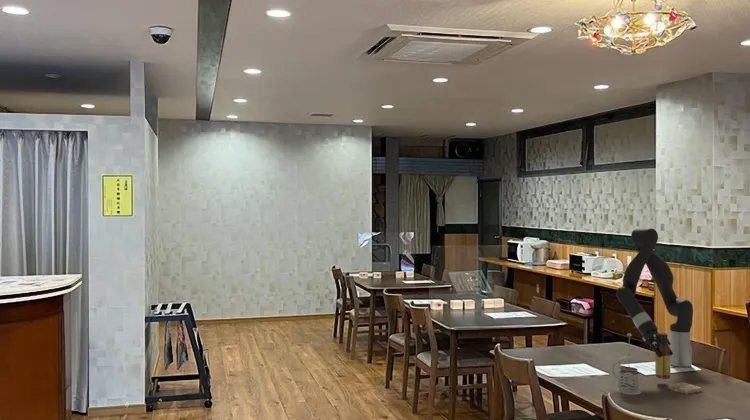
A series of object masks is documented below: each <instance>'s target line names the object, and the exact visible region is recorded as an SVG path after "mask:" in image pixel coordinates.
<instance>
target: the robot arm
mask: <svg viewBox="0 0 750 420" xmlns="http://www.w3.org/2000/svg"><path fill="white" fill-rule="evenodd" d="M630 237H631V242H632V243H633V245H634V247H635V249H636V250H637V252H638V253H637V254H636V255H635V257H634V258H632V260H630V262H629V263H628V265H627V266H626V269H625V271H624V275H623V277H622V286H619V288H617V290H616V292H615V293H616V294H615V295H616V298H617V299H618V302H619V303H620V304H622V306H623V307H624V309H625V310H626V312H627V314H628V316H629V317H630V319H631V320H632V322H633V324H634V326H635V327H636V329H637V330H638V331H639V333H640V334H641V336H642V337H641V341H642V342H643V343H644V345H645V346H646V347H647V349H648V350H652V351H654V354H655V353H656V354H657V356H658V357H661V356H663V354H662V352H661V351H660V349H659V348H657V344H658V333H659V331H658V328H659V327H658V326H657V325H656V324H655V322H654V321H653V320H652V318H651V317H650V315H649V314H648V313H647V312H646V311H645V309H644V308H643V306H642V305H641V304H640V303H639V301H638V300H637V297H636V292H637V286H638V283H639V280H640V278H641V275H642V272H643V270H644V267H645V265H646V267H647V268H648V271H649V273H650V275H651V277H652V279H653V281H654V283H655V284H656V288H658V291H659V294H660V295H661V298H662V300H663V302H664V306H665V308H666V311H667V312H668V314H669V315H670V316H673V317H677V318H676V322H675V323H670V325H669V338H668V337H667V344H668V346H669V348H670V363H671V366H674V367H678V368H679V367H680V368H689V367H692V366H693V365H692V362H693V361H692V354H693V350H692V349H693V347H692V346H691V328H692V326H693V316H694V308H693V304H692V302H691V301H690V300H688V299H683V298H679V297H678V296H677V294H676V293H675V291H674V287H673V284H674V275H673V274H674V273H673V272H672V270H671V268H670V266H669V264H668V263H667V261H665V260H664V259H663V258H662V257H661V256H660V255H659V254H657V252H655V251H654V249H655V247H656V245H657V243H658V239H659V234H658V232H657V230H656V229H654V228H653V227H642V228H641V227H640V228H635V229H633V230H632V232H631V235H630ZM688 366H689V367H688Z"/></svg>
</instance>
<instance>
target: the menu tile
mask: <svg viewBox="0 0 750 420" xmlns="http://www.w3.org/2000/svg"><path fill="white" fill-rule="evenodd" d="M669 389H670V391H673V390H674V391H673V392H676V391H678V392H677V393H679V392H681V393H680V394H683V393H685V394H684V395H686V394H687V395H689V394H688V393H692V394H694V393H693V392H697V393H699V392H698V391H702V389H703V388H702V387H701V386H697V385H695V384H690V383H687V382H683V381H682V382H677V383H670V384H668V385H667V390H669ZM702 392H703V391H702Z"/></svg>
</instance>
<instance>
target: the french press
mask: <svg viewBox="0 0 750 420" xmlns="http://www.w3.org/2000/svg"><path fill="white" fill-rule="evenodd" d="M626 337H628V350H630V347H631V346H630V344H631V343H630V342H631V339H630V337H632V333H631V332H629V333H627V334H626ZM618 359H619V360H617V361H615V362H614V363H613V365H612V366H611V368H612V370H611V372H612V374H613V376H614V377H615V378H616V379H618V387H617V389H616V392H618V393H619V394H625V395H631V396H632V395H634V396H636V395H639V394H641V393H642V392H641V391H640V389H639V372H638V370H639V369H638V368H637V367H633V366H632V367H631V366H620V365H621V362H625V363H629V364H631V363H639V362H640V359H639V358H637V357H635V356H634V355H630V354H628V355H622V356H621V357H619V358H618ZM617 363H618V365H619V366H620V368H619V369H620V370H619V375H616V373H615V365H616V364H617Z"/></svg>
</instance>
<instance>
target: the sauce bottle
mask: <svg viewBox="0 0 750 420" xmlns="http://www.w3.org/2000/svg"><path fill="white" fill-rule="evenodd" d="M668 335H669V334H668V333H665V332H658V344H657V348H659V349H660V351H661V352H662V354H663V356H661V357H658V356H657V354H656V353H655V352H654V354H655V355H654V359H655V361H654V364H655V365H654V366H655V369H654V370H655V377H657V379H660V380H661V379H662V380H669V379H671V371H672V370H671V366H672V365H671V363H670V346H668V344H667V338H668Z"/></svg>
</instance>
